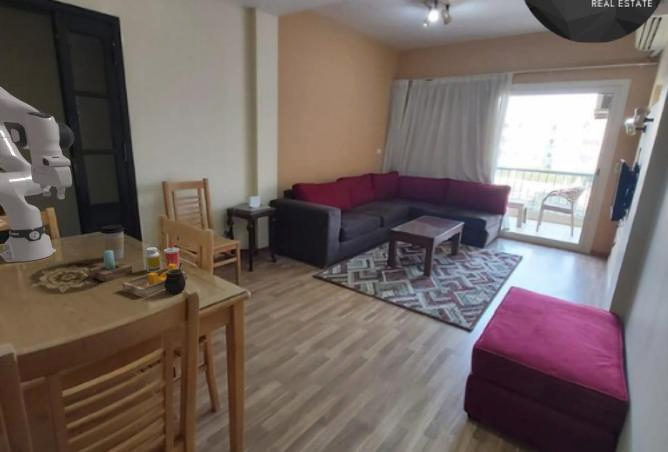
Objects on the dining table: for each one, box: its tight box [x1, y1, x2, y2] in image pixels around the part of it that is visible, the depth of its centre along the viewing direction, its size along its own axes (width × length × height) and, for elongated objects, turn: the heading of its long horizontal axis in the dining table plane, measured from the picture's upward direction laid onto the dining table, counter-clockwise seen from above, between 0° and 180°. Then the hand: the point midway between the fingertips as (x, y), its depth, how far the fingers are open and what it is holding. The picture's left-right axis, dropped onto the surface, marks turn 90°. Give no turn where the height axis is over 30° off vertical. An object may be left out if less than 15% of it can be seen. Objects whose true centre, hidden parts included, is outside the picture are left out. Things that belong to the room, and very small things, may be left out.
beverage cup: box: [163, 238, 180, 269], centre depth 149 cm, size 6×6×14 cm
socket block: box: [88, 260, 133, 283], centre depth 143 cm, size 11×11×3 cm
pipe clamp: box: [147, 264, 177, 286], centre depth 136 cm, size 12×4×6 cm, turn 163°
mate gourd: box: [164, 262, 187, 295], centre depth 130 cm, size 7×8×10 cm
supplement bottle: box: [144, 247, 161, 273], centre depth 148 cm, size 5×5×10 cm
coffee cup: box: [100, 224, 125, 261], centre depth 161 cm, size 9×9×15 cm
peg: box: [102, 250, 116, 271], centre depth 142 cm, size 4×4×10 cm
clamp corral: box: [121, 266, 188, 298], centre depth 135 cm, size 11×19×3 cm, turn 153°
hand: (54, 197), depth 128 cm, fingers open, 8 cm apart
